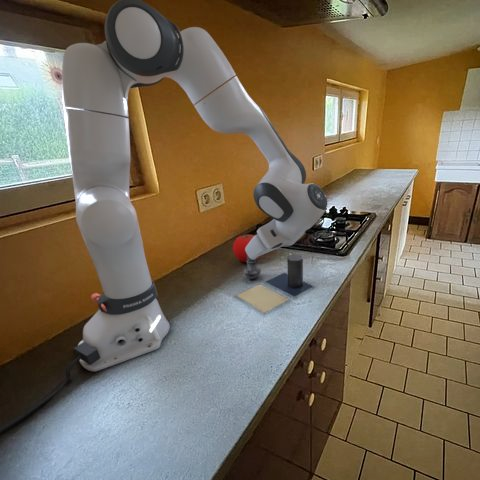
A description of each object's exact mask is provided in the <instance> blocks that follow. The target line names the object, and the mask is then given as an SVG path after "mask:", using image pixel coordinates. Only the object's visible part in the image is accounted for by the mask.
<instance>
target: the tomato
mask: <svg viewBox="0 0 480 480" xmlns="http://www.w3.org/2000/svg"><path fill="white" fill-rule="evenodd" d="M254 236H255V234H248V233H247V234H243V235H240V236H238V237H237V238H236V239H235V240H234V242H233V245H232V251H233V254H234V256H235V258H236V260H238V261H239V262H241V263H247V262H246V260H247V253H246V251H245V248H246V246H247V245H248V243H249V242H250V241H251V239H252V238H253V237H254ZM261 257H262V255H261V256H259V257H258V258H257V259H256V260H257V261H258V260H259V259H260V258H261Z"/></svg>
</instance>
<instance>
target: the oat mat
mask: <svg viewBox="0 0 480 480" xmlns="http://www.w3.org/2000/svg"><path fill="white" fill-rule="evenodd" d="M235 296H236V297H238V298H239V299H241V300H242V301H244V302H246V303H247V304H249V305H250V306H252V307H254V308H255V309H257V310H258V311H260V312H261V313H263V314H265V313H267V312H268V311H269V312H270V311H271V310H272V309H274V308H277V307H278V306H280V305H282V304H284V303H285V302H288V301H289V299H288V298H286V297H285V296H283V295H281V294H279V293H277V292H275V291H273V290H272V289H271V288H268V287H266V286H264V285H262V284H261V283H259V284H258V285H255V286H253V287H250V288H248V289H246V290H244V291H242V292H240V293H238V294H236V295H235Z"/></svg>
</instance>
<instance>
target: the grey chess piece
mask: <svg viewBox="0 0 480 480" xmlns="http://www.w3.org/2000/svg"><path fill="white" fill-rule="evenodd" d="M257 262H258V259H257V260H256V259H254V260H253V259H250V258H249V256H248V255H247V260H246V262H245V263H246V265H247V267H246V268H245V269H244V270H243V273H244V275H245V276H246V277H247V278H246V280H247V282H256V281H259V280H260V277H259V276H260V274H261V271H262V270H261V268H260V267H259V266H257Z"/></svg>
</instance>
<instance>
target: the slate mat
mask: <svg viewBox="0 0 480 480" xmlns="http://www.w3.org/2000/svg"><path fill="white" fill-rule="evenodd" d="M265 283H267V284H269V285H271V286H273V287H275V288H277V289H278V290H281V291H282V292H285V293H287V294H288V295H290V296H292V297H294V298H295V297H296V296H298V295H300V294H302V293H304V292H306V291H308V290H310V289H312V288H313V287H314V285H312V284H310V283H308V282H305V281H303V286H302V287H300V288H296V289H295V288H290V287H289V286H288V273H285V272H283V273H281V274H279V275H277V276H274V277H273V278H270V279H268V280H266V281H265Z"/></svg>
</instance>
